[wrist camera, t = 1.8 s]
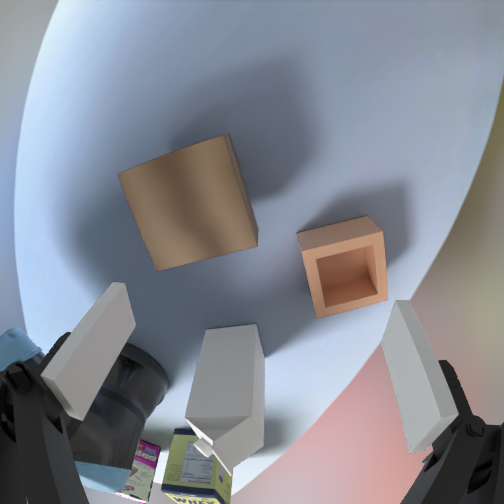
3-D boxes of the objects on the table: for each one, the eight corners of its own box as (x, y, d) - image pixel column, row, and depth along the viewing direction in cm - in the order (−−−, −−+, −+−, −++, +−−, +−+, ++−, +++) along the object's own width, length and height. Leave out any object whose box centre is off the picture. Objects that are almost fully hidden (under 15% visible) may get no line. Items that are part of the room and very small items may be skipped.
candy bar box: (117, 436, 58) (99, 488, 43) (119, 430, 56) (99, 484, 41) (158, 453, 59) (145, 505, 44) (162, 447, 57) (148, 502, 42)
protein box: (193, 457, 59) (184, 509, 45) (173, 427, 52) (159, 489, 38) (234, 459, 58) (230, 514, 44) (221, 430, 52) (213, 496, 37)
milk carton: (256, 322, 39) (250, 449, 22) (265, 358, 42) (263, 475, 25) (205, 328, 40) (176, 448, 23) (218, 363, 43) (200, 475, 25)
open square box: (310, 294, 37) (316, 318, 32) (296, 233, 33) (301, 251, 29) (374, 278, 36) (387, 299, 31) (367, 215, 32) (383, 231, 28)
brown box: (169, 251, 32) (157, 271, 28) (136, 165, 28) (117, 174, 24) (258, 228, 30) (257, 246, 26) (229, 133, 26) (223, 135, 22)
